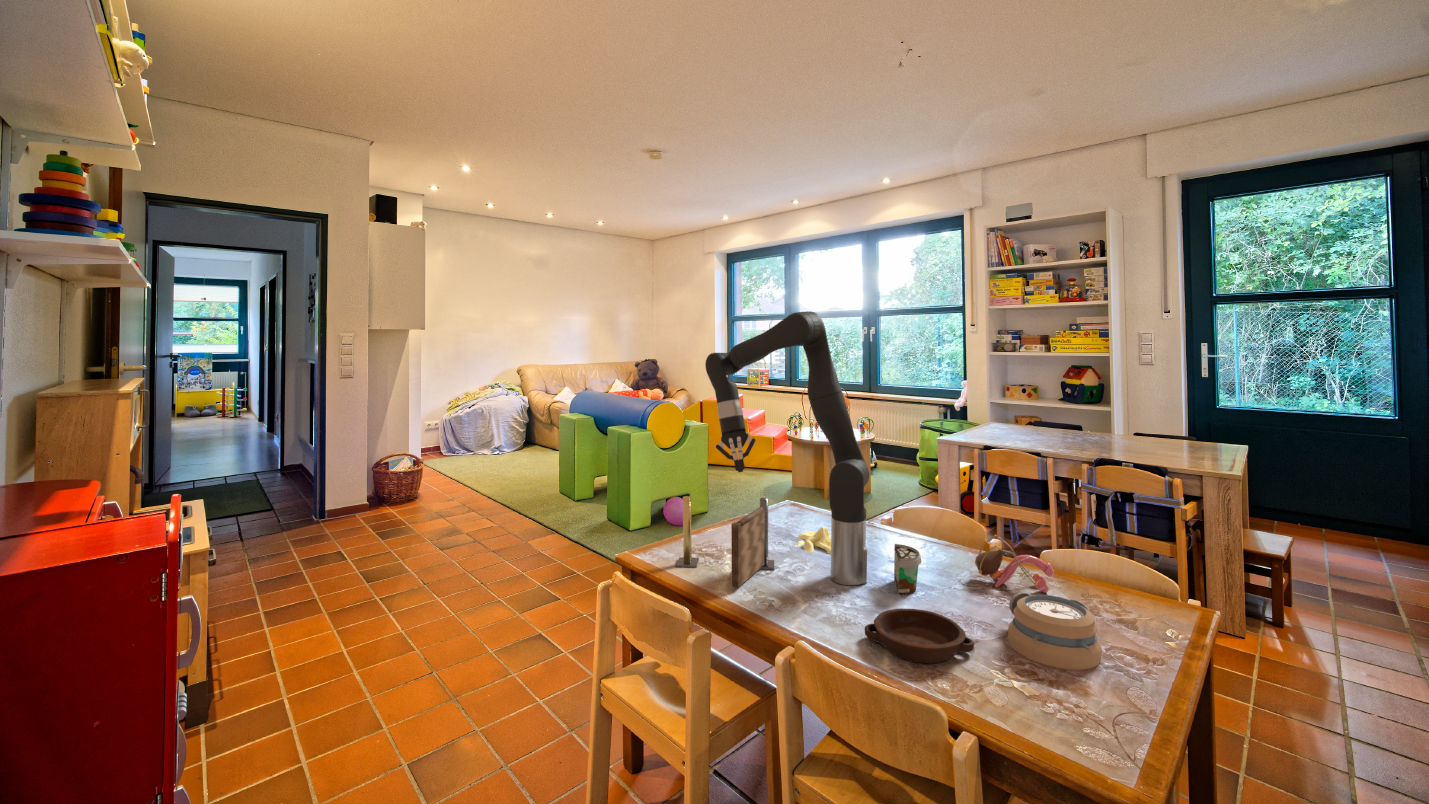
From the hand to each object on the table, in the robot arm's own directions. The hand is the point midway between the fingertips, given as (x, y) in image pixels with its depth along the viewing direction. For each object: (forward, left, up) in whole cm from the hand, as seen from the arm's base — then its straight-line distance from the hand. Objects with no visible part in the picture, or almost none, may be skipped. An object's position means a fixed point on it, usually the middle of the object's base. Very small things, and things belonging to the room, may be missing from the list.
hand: (740, 471), depth 175 cm
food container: (-45, +22, -26) cm, 57 cm away
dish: (-40, +52, -26) cm, 71 cm away
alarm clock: (-69, +47, -26) cm, 88 cm away
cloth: (-25, -10, -27) cm, 38 cm away
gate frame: (+4, +9, -26) cm, 28 cm away
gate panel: (-3, +19, -25) cm, 31 cm away
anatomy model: (-73, +18, -26) cm, 80 cm away
